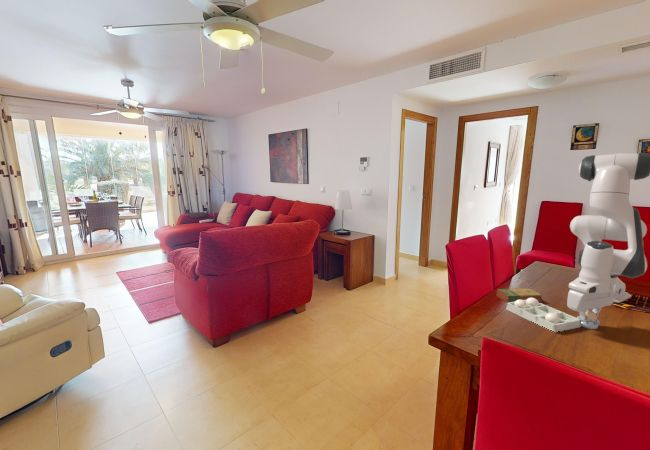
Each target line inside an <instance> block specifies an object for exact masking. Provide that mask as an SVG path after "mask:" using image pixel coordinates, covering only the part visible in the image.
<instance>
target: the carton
mask: <svg viewBox="0 0 650 450" xmlns="http://www.w3.org/2000/svg"><path fill="white" fill-rule="evenodd" d="M496 297H497V298H498V299H500V300H502V301H504V302H505V304H507V303H509V302H515V301H516V300H519V299H521V300H527V299H528V298H535V299H537V300H538V302H541V303H542V299H543V298H542V294H541V293H539V292H537V291H535V290H533V289H532V288H528V287H527V288H525V287H524V288H523V287H522V288H498V289H497V291H496Z"/></svg>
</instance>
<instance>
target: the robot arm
mask: <svg viewBox="0 0 650 450" xmlns="http://www.w3.org/2000/svg"><path fill="white" fill-rule="evenodd" d="M578 174H579V176H580V177H581V179H583V180H586V181H587V182H591V181H592V185H591V188H590V193H589V208H590V209H591V210H592V211H593V212H594V213H595V215H592V214H586V215H585V214H584V215H577V216H575V217H573V219H571V221H570V222H569V223H570V224H569V229H570V232H571V233H572V234H573V235H575V236H576V237H578V239H579V240H580V241H581V242H582V244H583V247H584V248H582V249H581V250H580V251H579V256H578V261H577V264H578V265H579V266H580V267H581V270H580V271H579V273H578V277H577V278H575V279H574V280H573V281H571V282H569V283H568V288H569V291H568V292H567V301H566V306H567V307H568V309H570V310H572V311H575V312H578V314H579V315H578V316H579V318H580V319H582V320H586V319H587V315H586V313H585V312H587V310H591V311H593V312H594V313H595V314H596V316H597V318H598V317H599V313H600V312H601V311H602V308H603V307H607V306H608V307H609V306H612V305H613V303H622V302H624V301H626V300H629V299H630V298H632V294H630V293H628V292H626V288H627V287H626V283H625V282H623V281H622V280H621V279H620V278H619V276H620V277H626V278H629V279H635V278H638V277H641V276H643V275H645V273H646V271H647V269H648V260H647V257H646V255H645V250H644V239H643V238H644V237H645V236H646V235H647V231H648V228H647V225H646V223H645V222H644V221H643V220H642V219H641V215H640V212H639V210H638V208H635V207H633V205H632V204H631V201H630V191H631V190H630V189H631V180H634V181H637V180H638V181H639V180H643V179H646V178H648V177H650V153H646V152H638V153H635V152H619V153H618V152H617V153H610V154H609V153H608V154H607V153H606V154H599V155H594V154H593V155H588V156H585V157H584V158H583V159H582V160H581V161H580V163H579V165H578ZM596 214H597V215H596ZM602 240H607V241H619V242H627V249H624V250H623V249H618V248H617V249H615V248H614V246H613V245H612V244H611V243H610V242H606V241H602Z"/></svg>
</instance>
